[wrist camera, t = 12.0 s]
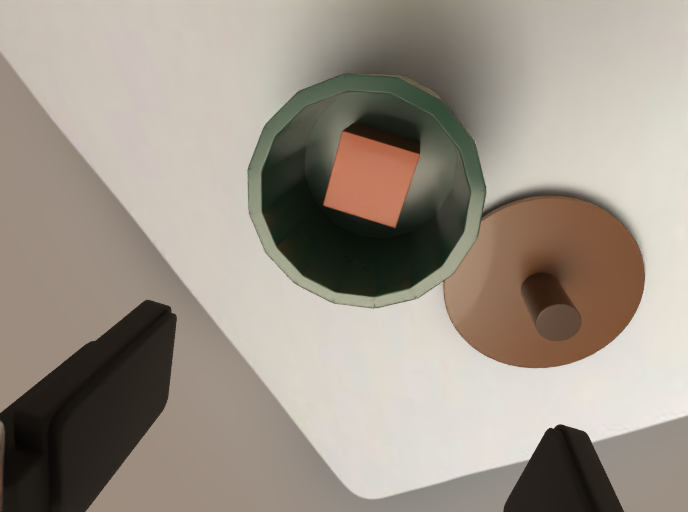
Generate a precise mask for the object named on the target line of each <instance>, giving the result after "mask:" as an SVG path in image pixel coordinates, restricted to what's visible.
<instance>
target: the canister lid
mask: <svg viewBox="0 0 688 512" xmlns="http://www.w3.org/2000/svg"><path fill="white" fill-rule="evenodd" d="M644 282H645V271H644V263H643V258H642V254H641V252H640V249H639V247H638V244H637V242H636V241H635V239H634V238H633V236H632V234H631V233H630V232H629V231H628V229H627V228H626V227H625V226H624V225H623V224H622V223H621V222H620V221H619V220H617V219H616V218H615V217H614V216H613V215H611V214H610V213H608V212H607V211H605V210H603V209H602V208H600V207H598V206H596V205H594V204H591V203H589V202H586V201H583V200H580V199H576V198H571V197H564V196H537V197H530V198H525V199H520V200H517V201H514V202H511V203H508V204H505V205H503V206H501V207H499V208H497V209H495V210H493V211H491V212H490V213H488V214H487V215H485V216H484V217H482V219H481V224H480V230H479V235H478V238H477V239H476V241H475V242H474V244H473V246H472V247H471V249H470V250H469V252H468V253H467V255H466V256H465V258H464V259H463V261H462V262H461V264H460V265H459V267H458V268H457V270H456V271H455V273H454V274H453V275H452V276H450V277H449V278H447V279H446V280H444V286H443V287H444V300H445V304H446V309H447V312H448V314H449V317H450V320H451V321H452V323H453V325H454V327H455V328H456V330H457V331H458V332H459V334H460V335H461V336H462V337H463V338H464V339H465V340H466V341H467V342H468V343H469V344H470V345H471V346H472V347H473V348H475V349H476V350H477V351H479V352H480V353H482V354H484V355H486V356H487V357H489V358H492V359H494V360H496V361H498V362H502V363H505V364H508V365H513V366H518V367H526V368H548V367H556V366H561V365H565V364H570V363H572V362H575V361H578V360H581V359H583V358H586V357H588V356H590V355H592V354H594V353H596V352H597V351H599V350H601V349H602V348H604V347H605V346H606V345H608V344H609V343H610V342H612V341H613V340H614V339H615V338H616V337H617V336H618V335H619V334H620V333H621V332H622V331H623V330H624V329H625V327H626V326H627V325H628V324H629V322H630V321H631V319H632V318H633V316H634V314H635V313H636V311H637V308H638V306H639V304H640V301H641V298H642V294H643V290H644Z"/></svg>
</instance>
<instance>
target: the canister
mask: <svg viewBox="0 0 688 512" xmlns="http://www.w3.org/2000/svg"><path fill="white" fill-rule="evenodd" d="M353 123H357V124H360V125H364V126H367V127H370V128H374V129H377V130H380V131H383V132H387V133H390V134H393V135H397V136H400V137H403V138H407V139H410V140H413V141H417V142H420V157H419V160H418V163H417V166H416V169H415V172H414V175H413V178H412V181H411V184H410V187H409V190H408V193H407V195H406V198H405V201H404V204H403V207H402V210H401V213H400V216H399V219H398V222H397V225H396V228H394V227H391V226H387V225H384V224H381V223H378V222H375V221H371V220H368V219H365V218H362V217H359V216H355V215H352V214H349V213H346V212H342V211H339V210H336V209H333V208H330V207H326V206H324V205H323V203H324V199H325V196H326V192H327V188H328V184H329V180H330V176H331V172H332V169H333V165H334V161H335V157H336V153H337V149H338V146H339V142H340V138H341V134H342V131H343V130H344V129H346V128H347V127H349V126H350V125H351V124H353ZM485 196H486V185H485V181H484V177H483V173H482V169H481V165H480V161H479V157H478V152H477V148H476V144H475V143H474V140H473V139H472V137H471V136H470V135H469V133H468V132H467V131H466V130H465V128H464V127H463V126H462V124H461V123H460V122H459V121H458V119H457V118H456V117H455V115H454V114H453V113H452V112H451V110H450V109H449V108H448V106H447V105H446V104H445V103H444V101H443V100H442V99H441V97H440V96H439V95H438V94H437V93H436V92H434V91H432V90H430V89H429V88H427V87H425V86H423V85H421V84H419V83H417V82H415V81H413V80H412V79H410V78H408V77H406V76H401V75H384V74H342V75H339V76H337V77H334V78H332V79H329V80H326V81H324V82H321V83H319V84H316V85H313V86H311V87H308V88H305V89H303V90H300V91H299V92H297V93H296V94H295V95H294V96H293V97H292V98H291V99H290V100H289V101H288V102H287V103H286V104H285V105H284V106H283V107H282V108H281V109H280V110H279V111H278V112H277V113H276V114H275V115H274V116H273V117H272V118H271V119H270V120H269V121H268V122H267V123H266V124H265V126H264V128H263V130H262V133H261V135H260V138H259V141H258V143H257V146H256V148H255V151H254V154H253V156H252V159H251V161H250V164H249V167H248V203H249V215H250V217H251V219H252V222H253V224H254V226H255V229H256V231H257V233H258V236H259V238H260V241H261V243H262V245H263V248H264V250H265V252H266V254H267V255H268V256H269V257H270V258H271V259H272V260H273V261H274V262H275V263H276V264H277V265H278V267H279V268H280V269H281V270H282V271H283V272H284V273H285V274H286V275H287V276H288V277H289V278H290V279H291V280H292V281H293V282H294V283H295V284H296V285H298V286H300V287H302V288H304V289H306V290H308V291H310V292H312V293H314V294H316V295H318V296H320V297H322V298H324V299H326V300H328V301H330V302H332V303H335V304H343V305H351V306H359V307H367V308H379V307H383V306H388V305H392V304H396V303H401V302H405V301H409V300H414V299H416V298H419V297H421V296H422V295H424V294H425V293H426V292H428V291H429V290H431V289H432V288H434V287H435V286H437V285H438V284H440V283H441V282H443V281H444V280H446V279H447V278H449V277H450V276H452V275H453V274H454V273H455V271H456V270H457V268H458V267H459V265H460V264H461V262H462V261H463V259H464V258H465V256H466V255H467V253H468V252H469V250H470V249H471V247H472V246H473V244H474V242H475V241H476V239H477V238H478V235H479V230H480V224H481V219H482V213H483V208H484V202H485Z"/></svg>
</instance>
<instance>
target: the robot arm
mask: <svg viewBox="0 0 688 512" xmlns="http://www.w3.org/2000/svg"><path fill="white" fill-rule="evenodd" d="M176 321H177V317H176V315H175V314H173V313H171V307H170V306H167V305H164V304H161V303H157V302H154V301H151V300H146V301H144V302H143V303H141V304H140V305H139V306H138V307H136V308H135V309H134V310H133V311H131V312H130V313H129V314H128V315H127V316H125V317H124V318H123V319H122V320H121V321H119V322H118V323H117V324H116V325H114V326H113V327H112V328H111V329H109V330H108V331H107V332H106V333H105V334H103V335H102V336H101V337H100V338H98V339H97V340H96V341H92V342H89V343H88V344H86V345H84V346H83V347H82V348H81V349H79V350H78V351H77V352H76V353H75V354H73V355H72V356H71V357H69V358H68V359H67V360H66V361H64V362H63V363H62V364H61V365H60V366H58V367H57V368H56V369H55V370H53V371H52V372H51V373H50V374H48V375H47V376H46V377H45V378H43V379H42V380H41V381H40V382H38V383H37V384H36V385H35V386H33V387H32V388H31V389H30V390H28V391H27V392H26V393H25V394H24V395H22V396H21V397H20V398H19V399H17V400H16V401H15V402H14V403H12V404H11V405H10V406H9V407H7V408H6V409H5V410H4V411H2V412H1V413H0V512H85V511H86V510H87V509H88V508H89V506H90V505H91V504H92V502H93V501H94V500H95V499H96V497H97V496H98V495H99V493H100V492H101V491H102V489H103V488H104V487H105V485H106V484H107V483H108V482H109V480H110V479H111V478H112V476H113V475H114V474H115V472H116V471H117V470H118V469H119V467H120V466H121V465H122V463H123V462H124V461H125V459H126V458H127V457H128V456H129V454H130V453H131V452H132V450H133V449H134V448H135V446H136V445H137V444H138V442H139V441H140V440H141V439H142V437H143V436H144V435H145V433H146V432H147V431H148V429H149V428H150V427H151V425H152V424H153V423H154V422H155V420H156V419H157V418H158V416H159V415H160V414H161V412H162V411H163V409H164V407H165V405H166V403H167V400H168V394H169V385H170V376H171V366H172V357H173V348H174V339H175V330H176ZM504 512H624V511H623V509H622V506H621V504H620V502H619V500H618V498H617V496H616V494H615V491H614V489H613V487H612V485H611V483H610V481H609V479H608V477H607V474H606V473H605V470H604V468H603V466H602V464H601V462H600V460H599V457H598V455H597V453H596V451H595V449H594V447H593V445H592V443H591V440H590V438H589V436H588V435H587V433H586V432H584V431H581V430H578V429H575V428H571V427H568V426H565V425H557V426H556V427H555V428H554V429H553V428H549V429H547V431H546V432H545V434H544V436H543V437H542V439H541V441H540V443H539V444H538V446H537V448H536V450H535V452H534V453H533V455H532V457H531V459H530V460H529V462H528V464H527V466H526V468H525V469H524V471H523V473H522V475H521V476H520V478H519V480H518V482H517V484H516V485H515V487H514V489H513V490H512V492H511V494H510V496H509V498H508V499H507V501H506V503H505V506H504Z"/></svg>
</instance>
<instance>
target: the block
mask: <svg viewBox="0 0 688 512" xmlns="http://www.w3.org/2000/svg"><path fill="white" fill-rule="evenodd" d="M419 157H420V142H417V141H413V140H410V139H407V138H403V137H400V136H397V135H393V134H390V133H387V132H383V131H380V130H377V129H374V128H370V127H367V126H364V125H360V124H357V123H353V124H351V125H350V126H349V127H347V128H346V129H344V130H343V131H342V134H341V138H340V142H339V146H338V149H337V153H336V157H335V161H334V165H333V169H332V172H331V176H330V180H329V184H328V188H327V192H326V196H325V199H324V203H323V205H324V206H326V207H330V208H333V209H336V210H339V211H342V212H346V213H349V214H352V215H355V216H359V217H362V218H365V219H368V220H371V221H375V222H378V223H381V224H384V225H387V226H391V227H394V228H396V225H397V222H398V219H399V216H400V213H401V210H402V207H403V204H404V201H405V198H406V195H407V193H408V190H409V187H410V184H411V181H412V178H413V175H414V172H415V169H416V166H417V163H418V160H419Z"/></svg>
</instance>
